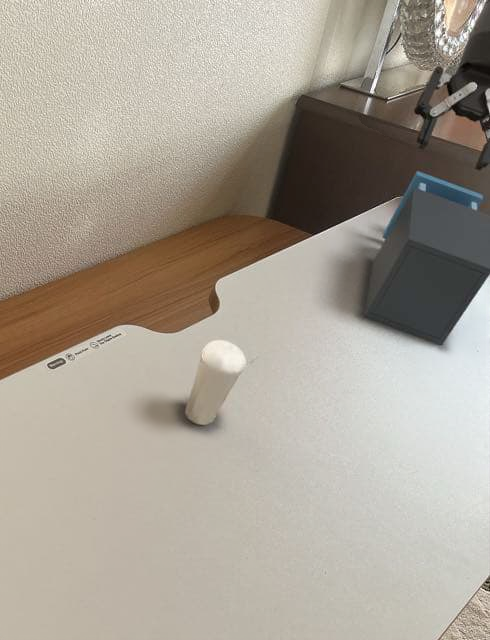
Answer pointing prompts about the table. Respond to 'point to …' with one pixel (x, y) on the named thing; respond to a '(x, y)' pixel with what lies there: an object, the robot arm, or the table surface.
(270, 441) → the table surface
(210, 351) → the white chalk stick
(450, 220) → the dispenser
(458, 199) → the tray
